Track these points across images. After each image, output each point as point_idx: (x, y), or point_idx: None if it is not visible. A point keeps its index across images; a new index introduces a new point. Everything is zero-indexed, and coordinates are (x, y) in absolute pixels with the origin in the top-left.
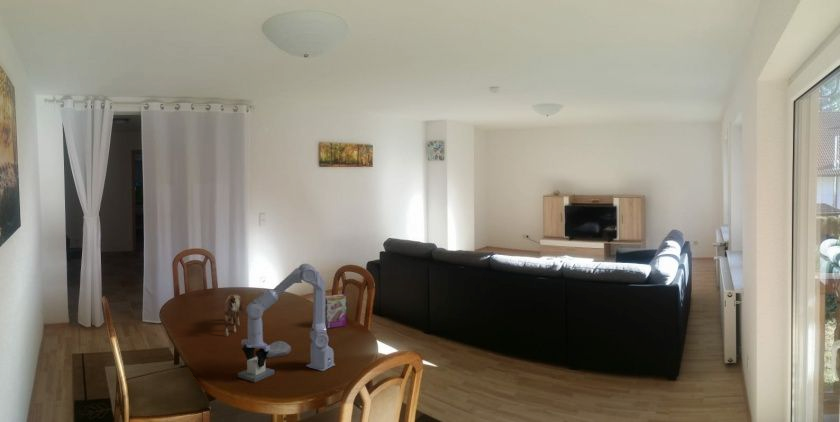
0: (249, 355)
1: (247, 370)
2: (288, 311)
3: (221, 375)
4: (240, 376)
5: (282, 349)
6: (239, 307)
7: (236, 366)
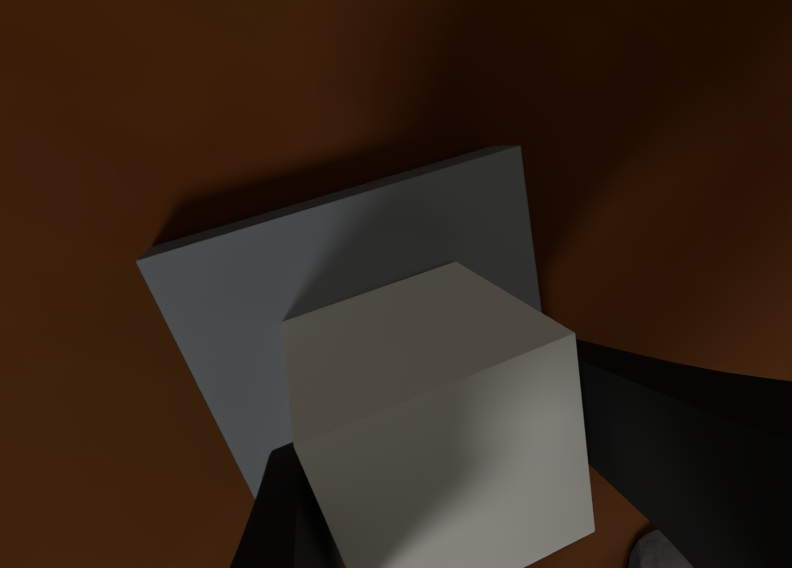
0: (671, 445)
1: (463, 270)
2: None
3: (671, 6)
4: (455, 158)
5: None
6: None
7: (718, 256)
